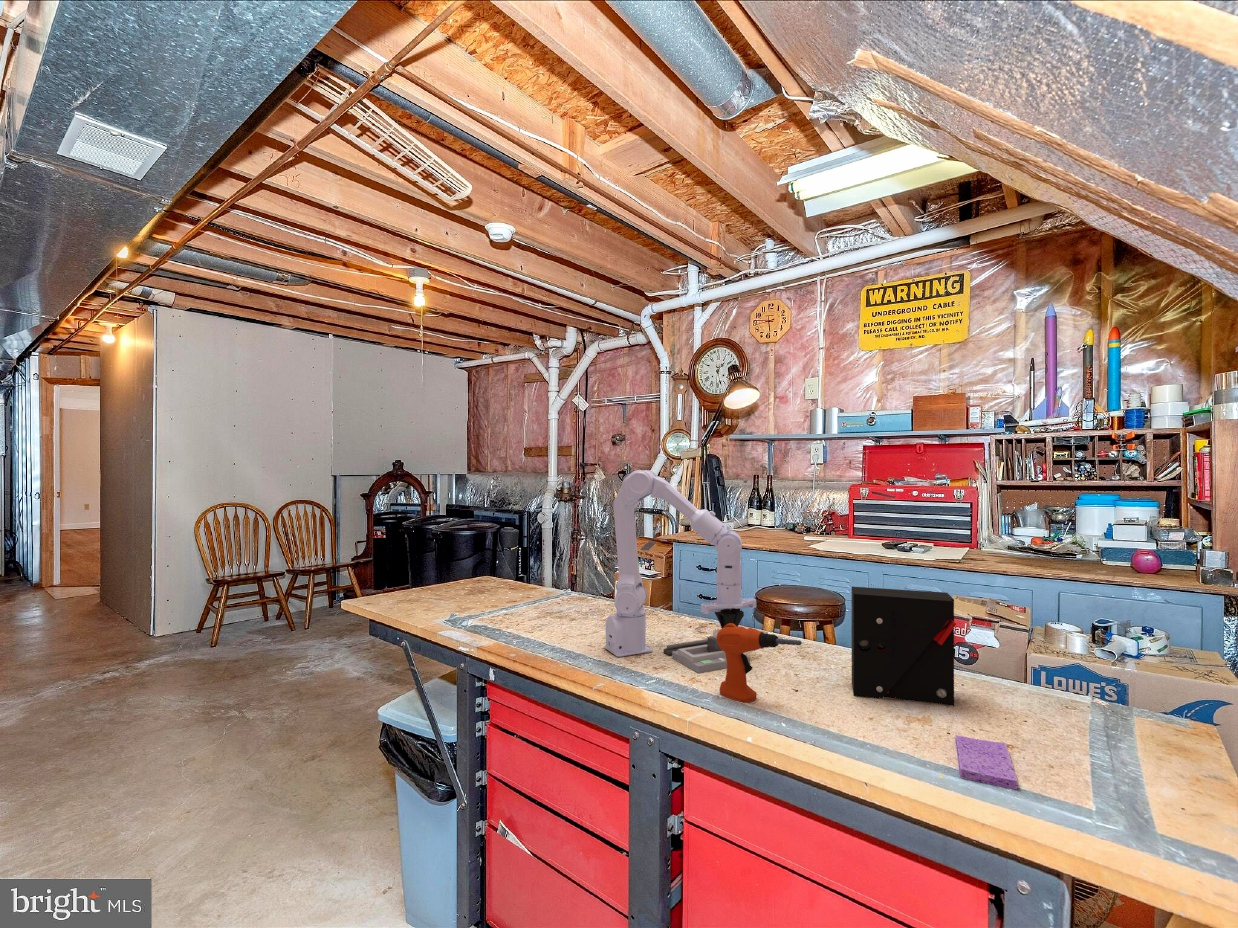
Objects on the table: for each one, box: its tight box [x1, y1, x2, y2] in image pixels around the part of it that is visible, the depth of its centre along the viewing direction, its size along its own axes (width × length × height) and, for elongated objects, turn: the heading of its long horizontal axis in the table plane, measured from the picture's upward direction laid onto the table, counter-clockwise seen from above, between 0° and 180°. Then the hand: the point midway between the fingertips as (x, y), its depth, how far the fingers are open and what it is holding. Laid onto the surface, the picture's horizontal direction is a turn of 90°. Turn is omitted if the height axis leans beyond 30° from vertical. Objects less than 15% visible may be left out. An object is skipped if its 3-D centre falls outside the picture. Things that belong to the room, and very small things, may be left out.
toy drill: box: [717, 623, 803, 703], centre depth 110 cm, size 5×18×14 cm, turn 50°
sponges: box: [955, 734, 1018, 790], centre depth 87 cm, size 7×13×2 cm, turn 152°
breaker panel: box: [671, 645, 751, 674], centre depth 133 cm, size 14×11×3 cm
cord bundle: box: [663, 638, 707, 656], centre depth 140 cm, size 14×3×2 cm, turn 116°
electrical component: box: [851, 586, 957, 707], centre depth 114 cm, size 18×10×20 cm, turn 71°
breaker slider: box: [706, 629, 722, 653], centre depth 134 cm, size 4×3×5 cm
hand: (729, 640), depth 135 cm, fingers closed
